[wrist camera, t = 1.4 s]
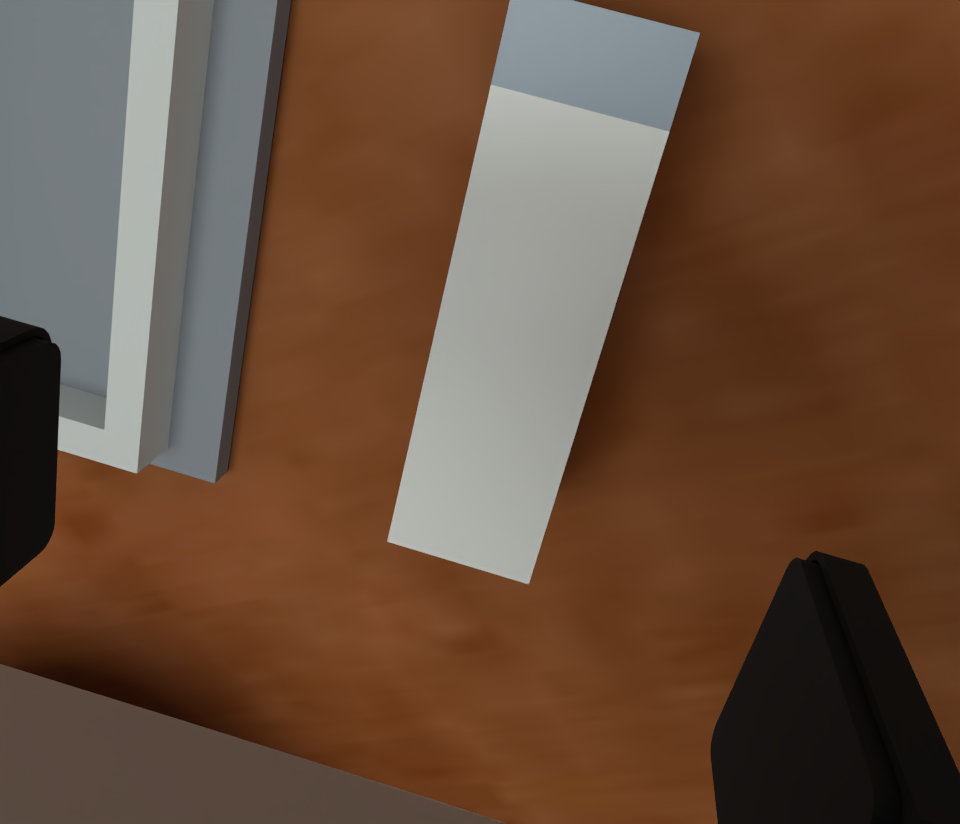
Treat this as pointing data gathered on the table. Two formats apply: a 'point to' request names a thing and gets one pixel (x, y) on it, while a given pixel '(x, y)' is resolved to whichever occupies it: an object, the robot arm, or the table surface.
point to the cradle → (138, 211)
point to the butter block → (535, 275)
